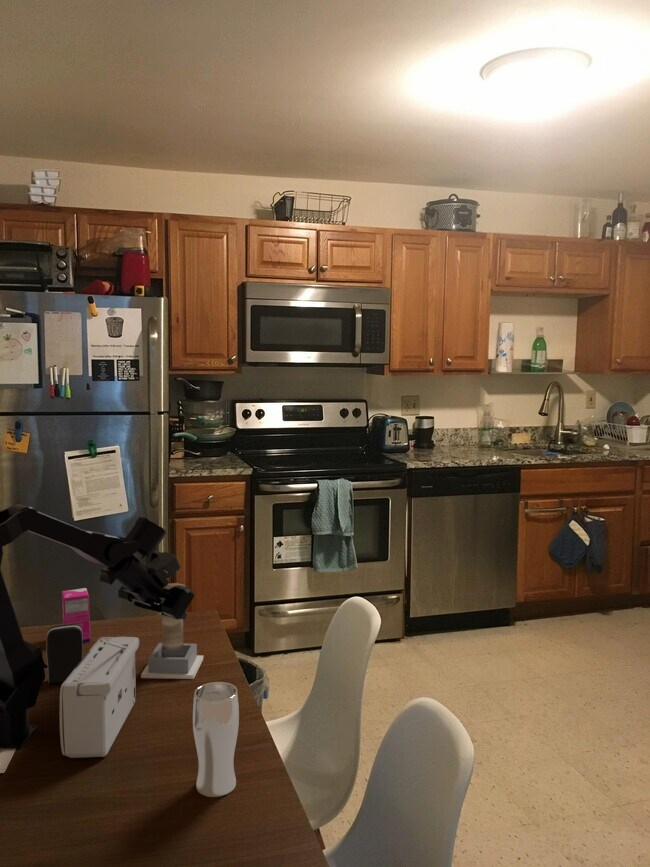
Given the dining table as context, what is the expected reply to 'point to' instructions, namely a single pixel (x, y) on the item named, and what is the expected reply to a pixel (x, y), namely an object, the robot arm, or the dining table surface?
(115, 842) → the dining table surface
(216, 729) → the beer glass
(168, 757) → the dining table surface
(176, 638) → the maple knob
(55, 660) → the battery charger
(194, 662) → the plate
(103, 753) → the stereo radio cassette player
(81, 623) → the supplement box
